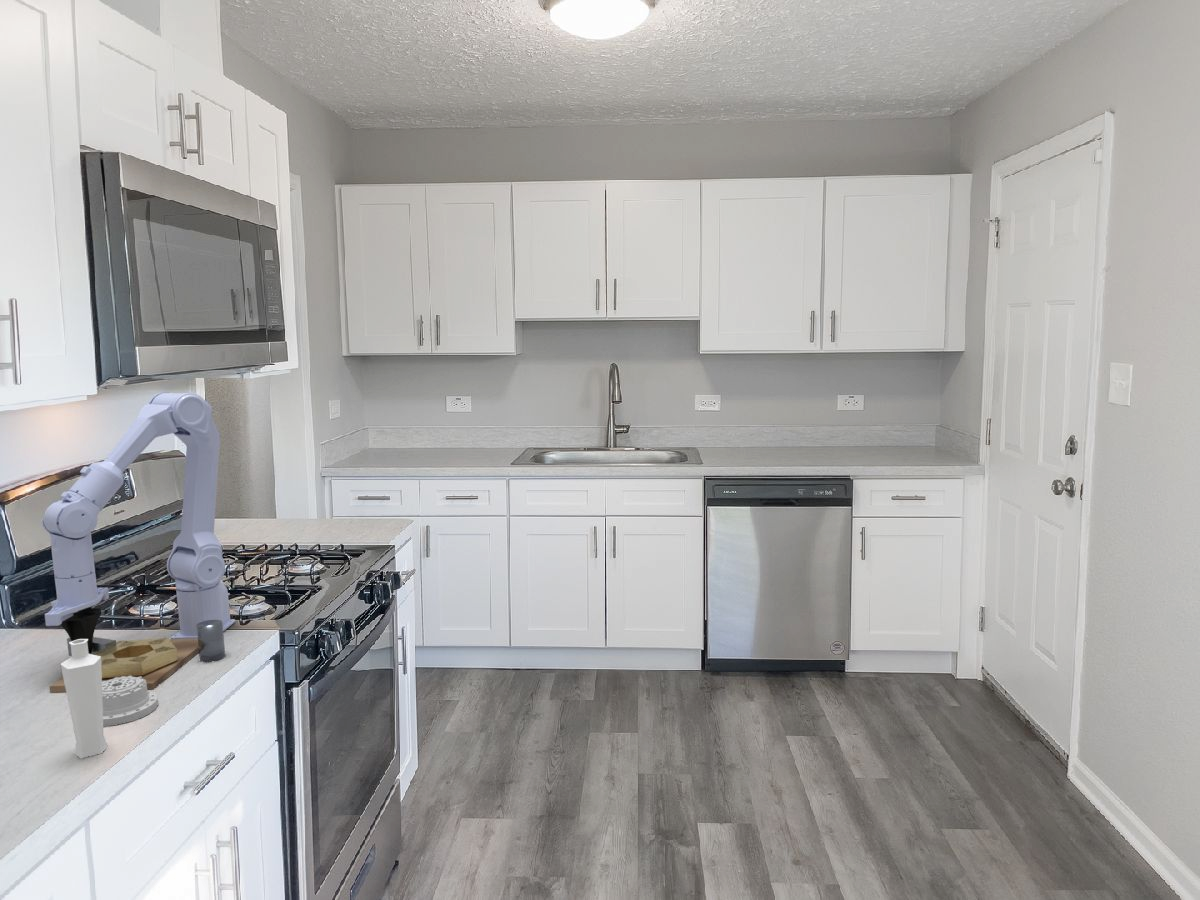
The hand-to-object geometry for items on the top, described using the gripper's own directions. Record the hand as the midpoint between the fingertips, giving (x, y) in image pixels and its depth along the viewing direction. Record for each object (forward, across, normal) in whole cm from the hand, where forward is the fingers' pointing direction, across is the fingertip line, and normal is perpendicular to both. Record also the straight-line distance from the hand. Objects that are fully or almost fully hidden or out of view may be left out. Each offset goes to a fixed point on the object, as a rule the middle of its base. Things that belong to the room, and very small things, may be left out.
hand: (83, 654), depth 146 cm
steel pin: (+2, -3, +20) cm, 20 cm away
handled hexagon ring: (+1, 0, +5) cm, 5 cm away
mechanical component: (+3, +17, +15) cm, 23 cm away
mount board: (+2, 0, +8) cm, 8 cm away
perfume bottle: (+3, +30, +18) cm, 35 cm away
